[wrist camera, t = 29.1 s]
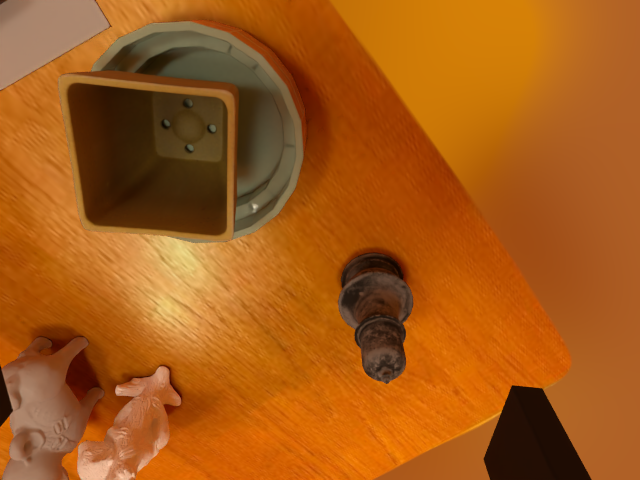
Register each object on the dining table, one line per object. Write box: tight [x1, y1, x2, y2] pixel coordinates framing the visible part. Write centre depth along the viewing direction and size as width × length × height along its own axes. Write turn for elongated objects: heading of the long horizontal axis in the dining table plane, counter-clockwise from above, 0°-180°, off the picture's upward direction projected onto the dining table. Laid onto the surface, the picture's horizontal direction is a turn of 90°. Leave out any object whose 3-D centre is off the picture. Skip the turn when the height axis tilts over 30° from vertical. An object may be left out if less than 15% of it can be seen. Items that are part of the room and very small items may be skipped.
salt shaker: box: [338, 253, 413, 384], centre depth 33 cm, size 6×6×12 cm
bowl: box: [91, 20, 307, 243], centre depth 31 cm, size 14×14×5 cm
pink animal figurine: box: [77, 366, 181, 480], centre depth 40 cm, size 8×7×12 cm
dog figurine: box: [1, 337, 104, 480], centre depth 40 cm, size 5×13×11 cm, turn 2°
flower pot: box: [58, 70, 239, 241], centre depth 28 cm, size 9×9×9 cm
